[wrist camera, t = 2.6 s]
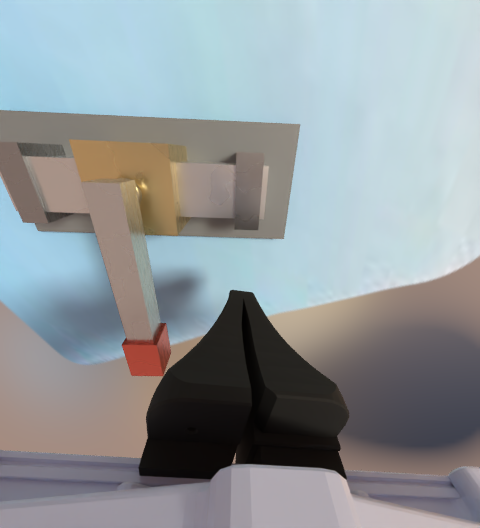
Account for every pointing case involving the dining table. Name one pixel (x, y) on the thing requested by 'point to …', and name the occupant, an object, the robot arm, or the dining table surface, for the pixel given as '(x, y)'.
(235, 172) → the pipe and valve
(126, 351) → the valve lever
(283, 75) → the dining table surface
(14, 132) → the board
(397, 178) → the dining table surface
